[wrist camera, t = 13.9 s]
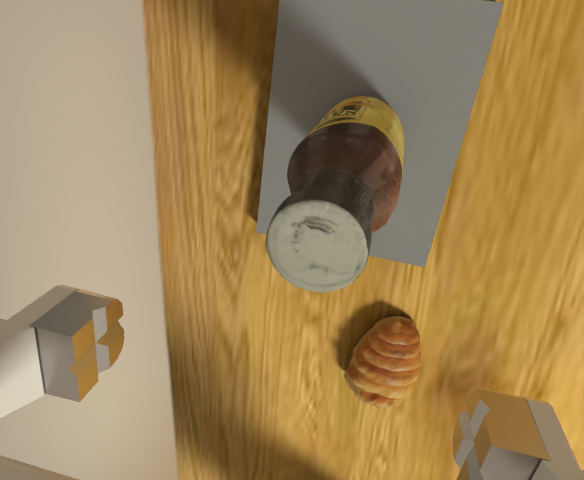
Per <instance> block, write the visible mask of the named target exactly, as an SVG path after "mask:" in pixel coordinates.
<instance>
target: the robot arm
mask: <svg viewBox="0 0 584 480" xmlns="http://www.w3.org/2000/svg"><path fill="white" fill-rule="evenodd" d="M122 315H123V309H122V303H121V302H120V301H119V300H118V299H115V298H111V297H107V296H103V295H100V294H96V293H92V292H89V291H85V290H79V289H76V288H73V287H69V286H65V285H60V286H56V287H54V288H53V289H51V290H50V291H48V292H47V293H46V294H44V295H43V296H41V297H40V298H39V299H37V300H36V301H34V302H33V303H31V304H30V305H28V306H27V307H26V308H24V309H23V310H21V311H20V312H18V313H17V314H16V315H14V316H13V317H11V318H10V319H8V320H3V319H0V418H1V417H3V416H5V415H7V414H9V413H11V412H13V411H15V410H17V409H19V408H21V407H23V406H24V405H26V404H28V403H30V402H32V401H34V400H36V399H38V398H40V397H42V396H44V393H46V394H50V395H54V396H58V397H62V398H66V399H70V400H74V401H78V402H80V401H81V400H82V398H84V396H85V395H86V394H87V393H88V392H89V391H90V390H91V389H92V387H93V386H94V385H95V384H96V383H97V382H98V373H99V372H101V371H104V370H106V369H109V368H110V367H111V366H112V365H113V364H114V362H115V361H116V360H117V358H118V356H119V354H120V352H121V350H122V347H123V342H124V330H123V328H122V327H121V325H120V324H119V322H118V320H119V319H120V318H121V316H122ZM465 402H466V407H467V411H465V412H463V413H461V414H459V416H458V419H457V421H456V424H455V428H454V434H453V456H454V461H455V462H456V463H457V464H458V466H459V467H460V468H461V471H460V473H459V475H458V478H457V480H584V470H581V469H580V467H579V465H578V462H577V460H576V458H575V456H574V454H573V451H572V449H571V447H570V445H569V443H568V440H567V438H566V436H565V434H564V431H563V429H562V427H561V425H560V423H559V420H558V418H557V416H556V414H555V411H554V409H553V407H552V406H551V405H550V404H549V403H548V402H544V401H539V400H535V399H530V398H525V397H518V396H514V395H509V394H505V393H501V392H497V391H493V390H488V389H484V388H480V387H476V386H472V387H471V389H470V390H469V391H468V394H467V396H466V398H465ZM0 480H78V479H75V478H72V477H68V476H65V475H62V474H58V473H56V472H52V471H49V470H45V469H42V468H39V467H36V466H33V465H30V464H26V463H23V462H20V461H17V460H13V459H10V458H7V457H4V456H0Z"/></svg>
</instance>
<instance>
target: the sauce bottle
mask: <svg viewBox="0 0 584 480" xmlns="http://www.w3.org/2000/svg"><path fill="white" fill-rule="evenodd" d="M403 153H404V132H403V127H402V124H401V121H400V119H399V117H398V115H397V114H396V113H395V111H394V110H393V108H392V107H391V106H390V105H389V104H388V103H387V102H385V101H383V100H381V99H378V98H374V97H369V96H356V97H352V98H348V99H346V100H343V101H342V102H340V103H338V104H337V105H336V106H334V107H333V108H332V109H331V110H330V111H329V112H328V113H327V114H326V115H325V116H324V117H323V119H321V120H320V121H319V123H318V124H317V125H316V126H315V127H314V128H313V129H312V130H311V131H310V133H309V134H307V136H306V137H305V138H304V139H303V140H302V141H301V142H300V143H299V145H298V146H297V147H296V148H295V150H294V152H293V153H292V155H291V158H290V160H289V164H288V169H287V179H288V184H289V188H290V192H291V195H290V196H289V197H287V198H286V199H285V200H284V201H283V202H282V203H281V205H280V206H279V207H278V208H277V210H276V212H275V214H274V216H273V217H272V219H271V221H270V224H269V227H268V230H267V235H266V247H267V251H268V254H269V257H270V260H271V262H272V264H273V266H274V268H275V269H276V270H277V271H278V272H279V273H280V275H281V276H282V277H283V278H284V279H286V280H287V281H288V282H290V283H291V284H293V285H295V286H297V287H299V288H302V289H305V290H308V291H318V292H322V293H323V292H328V291H335V290H338V289H341V288H343V287H346V286H347V285H349V284H351V283H352V282H353V281H354V280H355V279H356V278H357V277H358V276H359V275H360V273H361V272H362V271H363V270H364V268H365V266H366V263H367V261H368V256H369V253H370V247H371V239H372V234H373V233H375V232H376V231H378V230H379V229H380V228H381V227H383V226H384V225H385V224H386V223H387V221H388V219H389V218H390V216H391V214H392V212H393V211H394V209H395V207H396V204H397V202H398V198H399V193H400V187H401V184H402V176H403Z"/></svg>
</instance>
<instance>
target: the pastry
mask: <svg viewBox="0 0 584 480" xmlns="http://www.w3.org/2000/svg"><path fill="white" fill-rule="evenodd" d="M420 354H421V353H420V335H419V333H418V330H417V328H416V325H415V323H414V322H413V321H412V320H411V319H408V318H405V317H402V316H390V317H385V318H383V319H382V320H379V321H378V322H377V323H376V324H375V325H374V326H373V327H372V329H371V330H369V331H368V332H367V333H365V335H364V336H363V337H362V338H361V339H360V341H359V343H358V344H357V345H356V346H355V347H354V349H353V357H352V359H351V361H350V364H349V367H348V369H347V370H346V372H345V374H344V377H345V380H346V382H347V383H348V384H349V387H350V388H351V389H352V390H353V391H354V393H355V395H356V396H357V397H358V399H360V400H361V401H363V402H365V403H367V404H370V405H373V406H375V407H393V406H396V405H398V404H400V403H401V402H402V400H403V399H404V398H405V395H406V394H408V392H409V391H410V390H411V389H412V388H413V387H414V385H415V382H416V379H417V376H418V374H419V372H420V364H421V360H420Z"/></svg>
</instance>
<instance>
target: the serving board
mask: <svg viewBox="0 0 584 480" xmlns="http://www.w3.org/2000/svg"><path fill="white" fill-rule="evenodd" d="M502 7H503V3H501V2H493V1H485V0H279V9H278V19H277V29H276V39H275V49H274V59H273V69H272V79H271V89H270V99H269V109H268V119H267V129H266V140H265V150H264V160H263V170H262V180H261V190H260V200H259V210H258V220H257V230H256V232H258V233H263V234H267V230H268V227H269V224H270V221H271V219H272V217H273V216H274V214H275V212H276V210H277V208H278V207H279V206H280V205H281V203H282V202H283V201H284V200H285V199H286V198H287V197H289V196H290V195H291V192H290V188H289V184H288V179H287V169H288V164H289V160H290V158H291V155H292V153H293V152H294V150H295V148H296V147H297V146H298V145H299V143H300V142H301V141H302V140H303V139H304V138H305V137H306V136H307V134H309V133H310V131H311V130H312V129H313V128H314V127H315V126H316V125H317V124H318V123H319V121H320V120H321V119H323V117H324V116H325V115H326V114H327V113H328V112H329V111H330V110H331V109H332V108H333V107H334V106H336V105H337V104H338V103H340V102H342V101H343V100H346V99H348V98H352V97H356V96H369V97H374V98H378V99H381V100H383V101H385V102H387V103H388V104H389V105H390V106H391V107H392V108H393V110H394V111H395V113H396V114H397V115H398V117H399V119H400V121H401V124H402V127H403V132H404V153H403V176H402V184H401V187H400V193H399V198H398V202H397V204H396V207H395V209H394V211H393V212H392V214H391V216H390V218H389V219H388V221H387V223H386V224H385V225H384V226H383V227H381V228H380V229H379V230H378V231H376V232H375V233H373V234H372V239H371V247H370V253H369V256H374V257H379V258H383V259H388V260H393V261H398V262H403V263H408V264H412V265H417V266H422V267H425V265H426V261H427V258H428V255H429V251H430V248H431V245H432V241H433V238H434V235H435V231H436V228H437V224H438V221H439V218H440V214H441V211H442V208H443V204H444V201H445V198H446V194H447V191H448V188H449V184H450V181H451V178H452V174H453V171H454V168H455V164H456V161H457V158H458V154H459V151H460V147H461V144H462V141H463V137H464V134H465V131H466V127H467V124H468V121H469V117H470V114H471V111H472V107H473V104H474V101H475V97H476V94H477V91H478V87H479V84H480V80H481V77H482V74H483V70H484V67H485V64H486V60H487V57H488V54H489V50H490V47H491V44H492V40H493V37H494V34H495V30H496V27H497V24H498V20H499V17H500V13H501V10H502Z"/></svg>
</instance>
